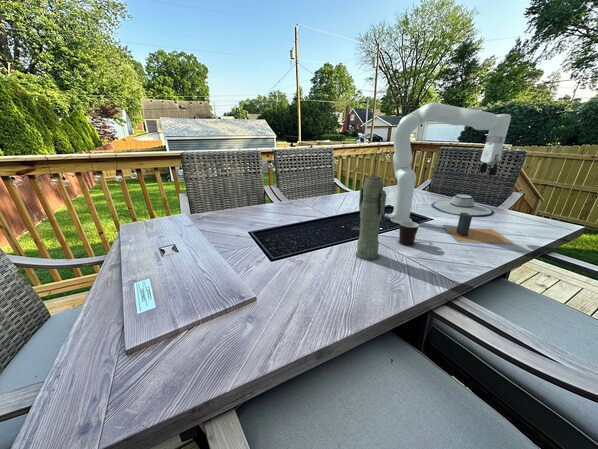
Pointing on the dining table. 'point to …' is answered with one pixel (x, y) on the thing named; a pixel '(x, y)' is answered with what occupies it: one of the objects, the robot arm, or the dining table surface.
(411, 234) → the coffee mug
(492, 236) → the cork mat
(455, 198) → the sun hat
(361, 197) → the thermos
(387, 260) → the dining table surface
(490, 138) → the robot arm
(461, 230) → the block
